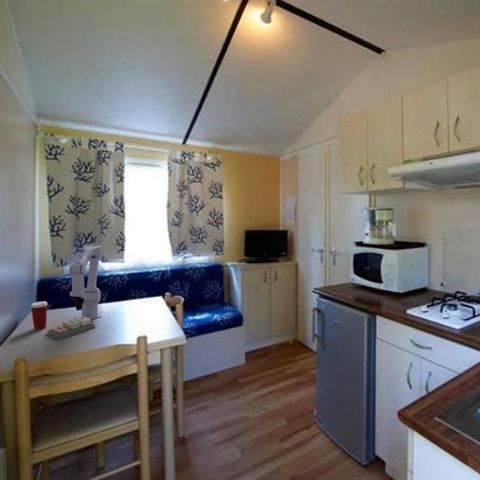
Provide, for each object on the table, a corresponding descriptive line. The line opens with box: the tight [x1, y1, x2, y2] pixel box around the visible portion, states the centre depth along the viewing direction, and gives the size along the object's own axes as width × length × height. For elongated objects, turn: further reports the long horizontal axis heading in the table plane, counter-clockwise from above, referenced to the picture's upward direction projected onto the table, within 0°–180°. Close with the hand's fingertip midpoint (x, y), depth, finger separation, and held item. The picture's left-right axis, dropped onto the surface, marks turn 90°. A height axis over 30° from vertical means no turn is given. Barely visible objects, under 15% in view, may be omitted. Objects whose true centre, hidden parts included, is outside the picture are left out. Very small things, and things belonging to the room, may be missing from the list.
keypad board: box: [44, 322, 97, 341], centre depth 154 cm, size 13×20×2 cm, turn 148°
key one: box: [73, 315, 92, 326], centre depth 159 cm, size 9×4×3 cm, turn 58°
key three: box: [49, 325, 69, 334], centre depth 149 cm, size 9×4×3 cm, turn 58°
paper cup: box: [30, 301, 48, 331], centre depth 158 cm, size 8×8×14 cm
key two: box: [62, 319, 80, 329], centre depth 153 cm, size 9×4×3 cm, turn 58°
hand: (79, 309), depth 157 cm, fingers closed
